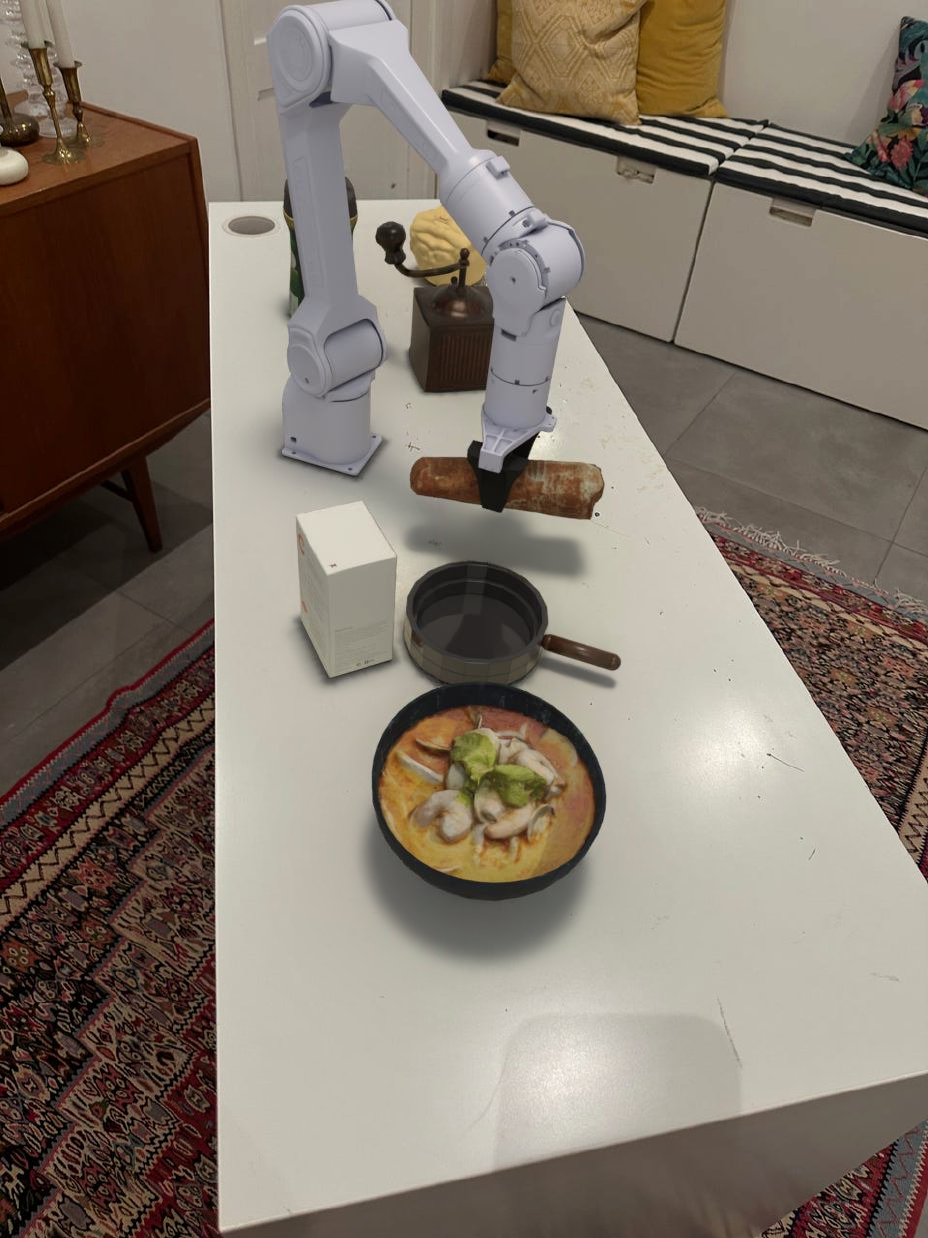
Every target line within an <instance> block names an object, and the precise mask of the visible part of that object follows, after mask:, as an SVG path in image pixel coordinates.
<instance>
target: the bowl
mask: <svg viewBox="0 0 928 1238" xmlns="http://www.w3.org/2000/svg"><path fill="white" fill-rule="evenodd" d="M371 767H372V768H371V796H372V805H373V810H374V812H375V813H374V814H375V816H376V820H377V823H378V827H379V829H380V831H381V834H382V835H383V837H384V839H385V841H386V843H387V844H388V846H389V847H390V849H391V851H392V852H393V853H394V854H395V856H397V858H398V859H399V860H400V861H401V862H402V863H403V865H404V866H405V867H406V868H407V869H408V870H410V871H411V872H413V873H414V874H415V875H417V876H418V877H419V878H420V879H421V880H423V881H424V882H426V883H427V884H429V885H430V886H433V887H435V888H437V889H439V890H441V891H442V892H445V893H447V894H451V895H453V896H454V895H455V896H457V897H461V898H464V899H468V900H474V901H475V900H476V901H478V900H479V901H487V902H501V901H506V900H514V899H518V898H523V897H527V896H528V895H531V894H532V895H533V894H536V893H539V892H541V891H544V890H546V889H547V888H549V887H550V886H552V885H553V884H555V883H556V882H559V881H560V880H561V879H562V878H564V877H566V876H567V875H569V874H570V873H571V872H572V871H573V870H574V869H575V867H577V865H579V863H580V862H581V861H582V860H583V859H584V858H586V857H585V856H586V855H587V854H588V852H589V850H590V848H591V847H592V845H593V843H594V842H595V840H596V838H597V837H598V836H599V834H600V831H601V828H602V826H603V823H604V819H605V814H606V810H607V789H606V782H605V778H604V774H603V769H602V767H601V764H600V761H599V759H598V757H597V756H596V753H595V752H594V749H593V748H592V746H591V744H590V743H589V741H588V739H587V738H586V736H585V735H584V734H583V733H582V732H581V730H580V729H579V728H578V727H577V725H576V724H575V723H574V722H573V721H572V720H571V719H570V718H569V717H568V716H566V714H564V713H563V712H562V711H561V710H560V709H558V708H557V707H555V706H554V705H553V704H551V703H549V702H547V701H546V700H545V699H543V698H542V697H539V696H538V695H536V694H533V693H531V692H530V691H527V690H524V689H522V688H519V687H516V686H513V685H509V684H507V685H505V684H501V683H494V682H483V681H471V682H462V683H456V684H446V685H443V686H439V687H435V688H433V689H431V690H429V691H427V692H424V693H422V694H421V695H419V696H416V697H415V698H414V699H412V700H411V701H409V702H408V703H407V704H406V705H404V706H403V707H402V708H401V709H399V711H397V713H396V714H395V715H394V716H393V718H392V719H391V720H390V721H389V723H388V724H387V726H386V727H385V729H384V731H383V732H382V734H381V736H380V738H379V741H378V743H377V745H376V747H375V752H374V756H373V760H372V766H371Z"/></svg>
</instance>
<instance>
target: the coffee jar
mask: <svg viewBox="0 0 928 1238" xmlns="http://www.w3.org/2000/svg"><path fill="white" fill-rule="evenodd" d="M345 182H346V191H347V200H348V209H349V217H350V226H351V235H352V244H353V245H354V232H355V228H356V225H357V223H358V218H359V211H358V203H357V197H356V191H355V189H354V188H355V187H354V185H353V183H352V182H351V180H350V178H348V177H347V176H345ZM282 214H283V218H284V221H285V224H286V226H287V228H288V232H289V244H290V245H289V246H290V263H289V264H290V268H289V269H290V270H289V288H288V290H289V291H288V293H289V294H288V301H289V303H288V304H289V312H290V317H292V316H293V314H294V313H295V311H296V310H297V308H298V307H299V305H300V304H301V302H302V301H303V299H304V297H305V292H304V285H303V279H302V272H301V266H300V259H299V253H298V246H297V240H296V233H295V227H294V220H293V214H292V207H291V201H290V194H289V188H288V181H287V178H286V179H285V181H284V189H283V205H282Z"/></svg>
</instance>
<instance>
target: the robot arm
mask: <svg viewBox="0 0 928 1238" xmlns="http://www.w3.org/2000/svg"><path fill="white" fill-rule="evenodd" d="M409 32H410V31H409V30H408V28H407V27H406V26H405V25H404V24H403V23H402V22H401V21H400V20H399V19H397V16H396V14H395V12H394V10H393V9H392V7H391V5H389V3H388V2H387V1H386V0H335V1H328V2H327V1H326V2H322V3H315V4H308V5H300V4H291V5H287V6H286V7H284V8H283V9H282V10H281V11H280V12H278V14H277V16H276V18H275V20H274V21H273V23H272V24H271V26H270V28H269V30H268V31H267V33H266V34H265V41H266V49H267V54H268V61H269V67H270V75H271V80H272V88H273V93H274V99H275V100H274V101H275V109H276V115H277V121H278V128H279V136H280V141H281V147H282V154H283V161H284V167H285V174H286V179H287V181H288V188H289V194H290V201H291V207H292V214H293V220H294V227H295V233H296V240H297V246H298V253H299V259H300V266H301V272H302V279H303V285H304V292H305V297H304V299H303V301H302V302H301V304H300V305H299V307H298V308H297V310H296V311H295V313H294V314H293V316H290V319H289V320H288V322H287V324H286V327H287V332H288V333H287V334H288V344H287V349H286V361H287V366H288V370H289V373H290V375H289V377H288V379H287V380H286V383H285V386H284V388H283V393H282V400H281V412H282V427H283V441H284V442H283V443H284V447H283V448H282V450H281V454H282V455H283V456H285V457H287V458H291V459H294V460H298V461H302V462H304V463H305V462H306V463H309V464H312V465H316V466H319V467H322V468H327V469H329V470H333V471H337V472H340V473H342V474H346V475H349V476H353V477H355V476H358V475H359V474H360V473H361V472H362V470H363V469H364V467H365V466H366V465H367V463H368V461H369V460H370V458H371V457H372V455H373V454H374V453H375V452H376V450H378V448H379V446H380V445H381V444H382V442H383V437H382V436H381V435H377V434H375V433H371V403H372V402H371V400H372V399H371V394H372V382H373V381H374V380H376V371H377V369H379V368H380V367H382V366H383V364H384V363H385V362H386V359H387V355H388V347H387V346H388V345H387V341H386V336H385V334H384V332H383V329H382V328H381V324H380V322H379V317H378V309H377V308H378V307H377V306H376V304H374V303H373V302H371V300H369V299H368V298H365V297H364V296H362V295H361V294H359V290H358V289H359V288H358V281H357V271H356V263H355V262H356V261H355V253H354V243H353V244H352V235H351V226H350V217H349V209H348V200H347V191H346V182H345V177H346V174H345V165H344V155H343V149H342V139H341V129H340V123H341V121H342V119H343V118H344V117H345V115H346V114H347V113H348V111H350V109H351V108H352V106H354V105H359V106H365V107H374V108H377V110H379V112H381V114H382V115H383V116H384V117H385V118H386V120H388V121H389V123H390V124H391V125H392V127H394V128H395V129H396V131H397V132H398V133H399V134H400V135H401V137H402V138H403V139H404V140H405V141H406V142H407V143H408V144H409V145H410V147H411V148H412V149H413V150H414V151H415V152H416V154H418V156H419V157H420V158H421V159H422V160H423V161H424V162H425V163H426V164H427V166H428V167H429V168H430V169H431V170H432V172H434V174H435V175H436V176H437V177H438V178H439V192H438V193H439V194H438V197H439V202H440V204H441V205H442V206H443V207H444V208H445V210H446V211H447V212H448V214H449V215H450V216H451V217H452V219H453V220H454V221H455V223H456V224H457V225H458V227H459V228H460V229H461V231H462V232H463V233H464V234H465V236H466V237H467V238H468V240H469V241H470V242H471V244H472V245H473V246H474V247H475V249H476V250H477V251H478V253H479V254H480V255H481V257H482V258H483V259H484V261H485V262H486V263H487V264H488V265H487V266H486V272H485V280H486V286H487V287H488V288H489V291H490V293H491V296H492V299H493V315H492V317H493V318H494V319H495V324H494V332H493V340H492V348H491V356H490V363H489V371H488V378H487V386H486V389H485V395H484V400H483V403H482V405H481V410H480V422H481V423H480V424H481V436H482V437H481V438H482V439H481V440H482V441H479V440H476V439H473V440H472V441H471V443H470V444H469V446H468V447H467V449H466V450H467V452H466V457H467V461H468V462H469V464H470V465H471V467H472V469H473V471H474V473H475V476H476V479H477V483H478V488H479V495H480V501H481V505H480V506H481V508H482V509H483V510H488V511H491V512H495V513H497V514H501V513H503V511H504V509H505V508H504V507H505V505H506V503H507V501H508V498H509V495H510V492H511V489H512V486H513V484H514V482H515V481H516V479H517V478H518V477H519V476H520V475H521V474H522V473H523V471H524V470H525V468H526V466H527V464H528V462H529V460H531V459H530V458H529V457H530V454H531V451H532V450H533V446H534V444H535V441H536V439H537V437H539V435H540V433H541V432H544V433H552V432H553V431H554V429H555V427H556V425H557V422H558V418H557V416H556V415H553V409H552V408H551V407H550V406H549V405H548V400H549V394H550V388H551V384H552V379H553V378H552V377H553V372H554V367H555V363H556V358H557V351H558V346H559V341H560V336H561V331H562V325H563V319H564V314H565V309H566V304H567V297H564V296H566V295H568V294H569V293H571V292H572V291H573V290H575V289H576V288H577V287H578V286H579V285H580V284H581V282H582V280H583V279H584V275H585V272H586V266H587V265H586V264H587V263H586V262H587V261H586V253H585V249H584V246H583V244H582V241H581V240H580V238H579V236H578V235H577V233H576V230H575V229H574V227H572V226H571V225H569V224H568V223H566V222H564V221H561V220H555V219H552V218H550V217H549V216H548V214H547V213H543V212H542V211H541V210H540V208H537V207H536V206H535V204H534V202H532V200H531V199H530V197H529V196H528V195H527V194H526V193H525V191H524V189H522V187H521V185H520V184H519V183H518V181H516V179H515V178H514V177H513V175H512V174H511V172H510V171H511V166H510V164H509V163H508V162H507V160H506V159H505V158H504V156H502V155H499V156H498V155H497V154H496V153H495V152H494V151H493V150H491V149H481V148H475V147H474V148H473V147H472V146H471V144H470V143H469V141H468V140H467V138H466V136H465V135H464V134H463V132H462V131H461V129H460V128H459V125H458V124H457V123H456V121H455V120H454V119H453V116H451V114H450V113H449V111H448V109H447V107H445V104H444V102H442V100H441V99H440V97H439V96H438V94H437V92H436V91H435V89H434V88H433V86H432V85H431V83H430V82H429V80H428V79H427V78H426V75H425V74H424V73H423V71H422V70H421V68H420V67H419V64H418V63H417V62H416V61H415V59H414V57H413V56H412V55H411V40H410V33H409Z"/></svg>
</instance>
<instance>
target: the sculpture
mask: <svg viewBox="0 0 928 1238" xmlns="http://www.w3.org/2000/svg"><path fill="white" fill-rule="evenodd" d="M412 220H413V221H412V223H411V224H410V225H409V238H410V240H409V250H410V252H411V253H412V254H413V256H414V259H415V262H416V264H417V266H418V270H427V269H435V268H441V267H445V266H448V265H452V264H455V263H458V260H459V259H460V250H461V249H462V248H467V249H468V250H469V251H470V255H469V258H468V260H469V262H470V266H469V267H467V271H466V280H465V285H469V286H474V284H476V283H477V282H479V281H480V280H481V279H482V278H483V276H484V275H485V274H486V266H487V265H488V264H487V263H486V262H485V261H484V259H483V258H482V257H481V255H480V254H479V253H478V251H477V250H476V249H475V247H474V246H473V245H472V244H471V242H470V241H469V240H468V238H467V237H466V236H465V234H464V233H463V232H462V231H461V229H460V228H459V227H458V225H457V224H456V223H455V221H454V220H453V219H452V217H451V216H450V215H449V214H448V212H447V211H446V210H445V208H444V207H443V206H442V204H441V205H439V206H437V207H435V208H430V209H427V210H423V211H419V212H418V213H416V215H415V216H414V218H413V219H412ZM453 276H456V277H457V278H458V281H459V270H457V271H455V272H452V273H449V274H444V275H438V276H431V277H424V279H425V280H427V281H428V282H429V283H431V284H433V285H434V286H435V287H436V286H439V285H442V284H450V283H451V278H452V277H453Z"/></svg>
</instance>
